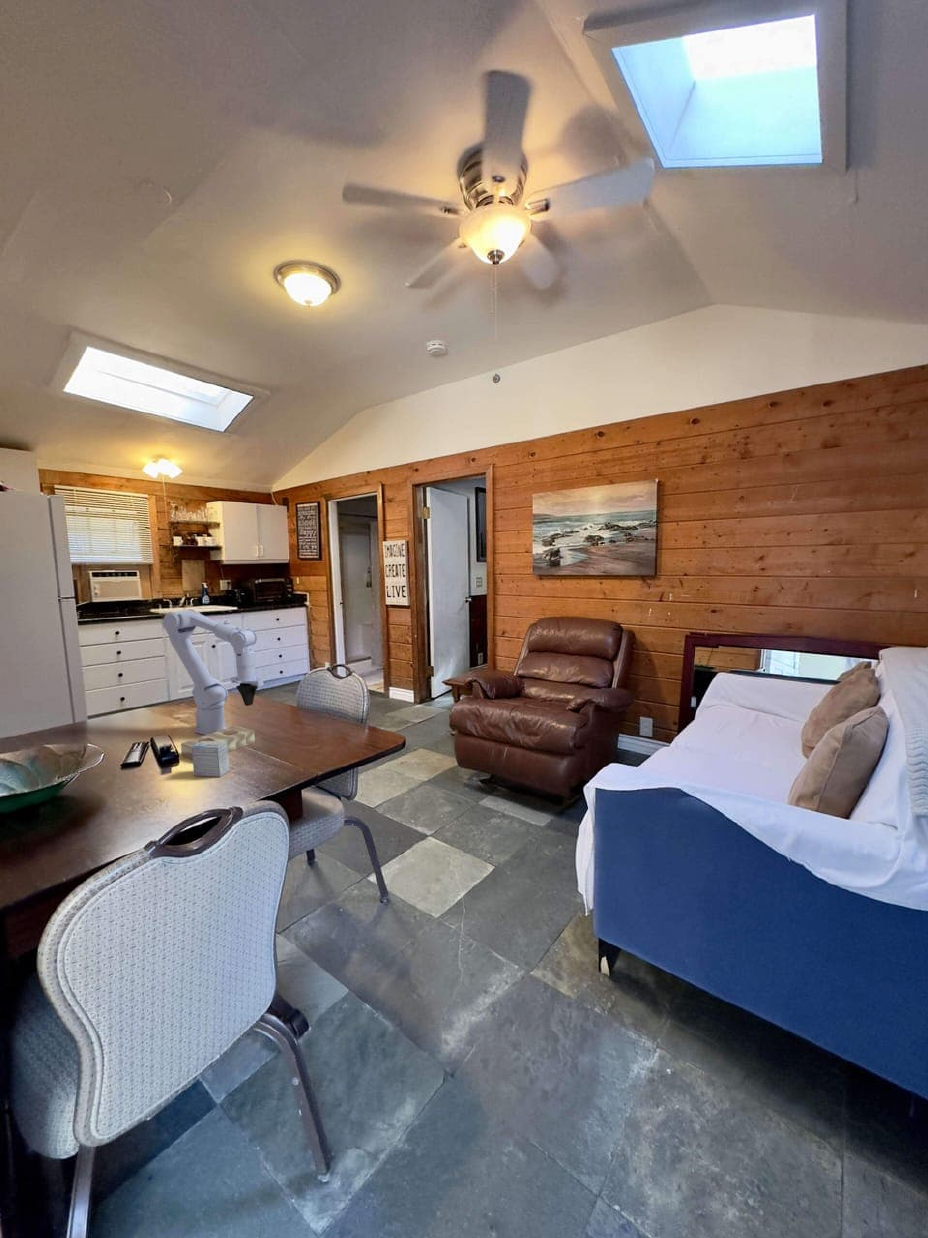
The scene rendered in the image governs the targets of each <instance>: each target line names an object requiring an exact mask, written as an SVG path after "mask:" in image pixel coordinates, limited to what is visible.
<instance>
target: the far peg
mask: <svg viewBox="0 0 928 1238" xmlns="http://www.w3.org/2000/svg"><path fill="white" fill-rule="evenodd" d="M235 733H238V731H234V730H230V731H227V732H224V733H223V734H225V735H232V734H235Z"/></svg>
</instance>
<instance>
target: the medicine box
mask: <svg viewBox="0 0 928 1238" xmlns="http://www.w3.org/2000/svg"><path fill="white" fill-rule="evenodd" d="M192 757H193V760H192V765H193V766H192V768H193V777H217V778H221V777H222V776H224V775H225V774H226V773H227V772H229V771H230V760H229V752H228V748H227V742H222V741H201V742H199V743H197V744H195V745H194V746H192Z"/></svg>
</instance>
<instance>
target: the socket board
mask: <svg viewBox="0 0 928 1238" xmlns="http://www.w3.org/2000/svg"><path fill="white" fill-rule="evenodd" d="M230 730H234V731H238V733H235V734H232V735H225V734H223V733H224V732H227V731H230ZM206 738H211V739H214V741H222V742H227V748H228V753H230V752H233V751H235V750H238V749H241V748H243V747H246V746H249V745H252V744H254V743H255V742H256V738H255V730H254V729H249V728H245V727H241V726H237V725H233V726H231V727H229V728H227V729H223V730H220V731H217V732H214V733H211V734H208V735H202V736H199V737H197V738H192V739H190V740H187V741H184V742H181V743H180V748H181V756H182V757H183V758H187V759H189V760H192V761H193V757H192V746H194V745H195V744H197V743H199V741H200V740H203V739H206Z"/></svg>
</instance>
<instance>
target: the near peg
mask: <svg viewBox="0 0 928 1238" xmlns="http://www.w3.org/2000/svg"><path fill="white" fill-rule="evenodd" d="M201 741H214V739H211V738H206V739H203V740H200V741H199V742H201Z"/></svg>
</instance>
